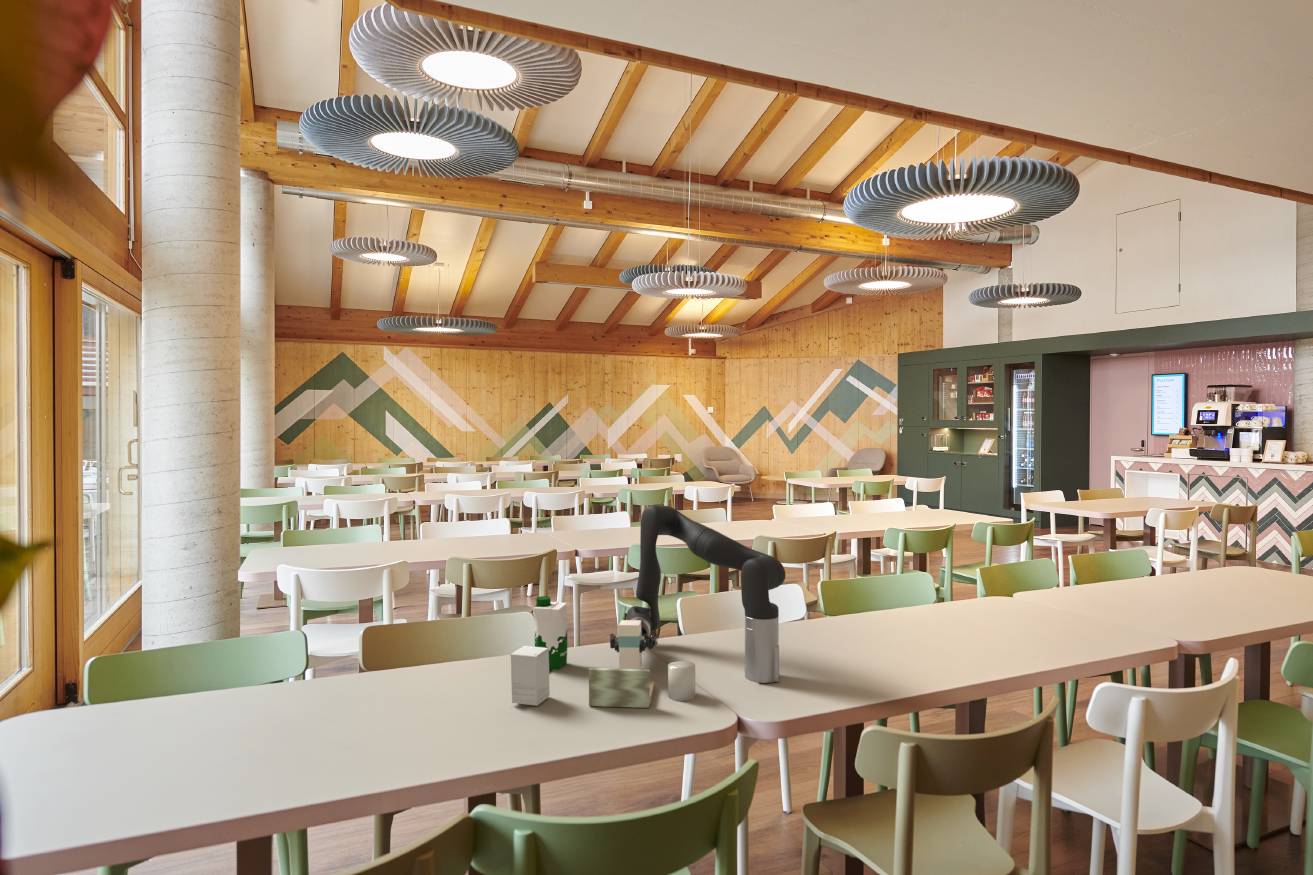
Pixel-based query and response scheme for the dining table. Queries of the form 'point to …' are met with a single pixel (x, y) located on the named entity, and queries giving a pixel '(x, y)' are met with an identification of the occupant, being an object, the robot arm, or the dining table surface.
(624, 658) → the oat carton
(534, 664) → the supplement box
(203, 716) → the dining table surface
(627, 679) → the display bay
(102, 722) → the dining table surface
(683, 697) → the white tapered tumbler
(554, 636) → the milk carton
